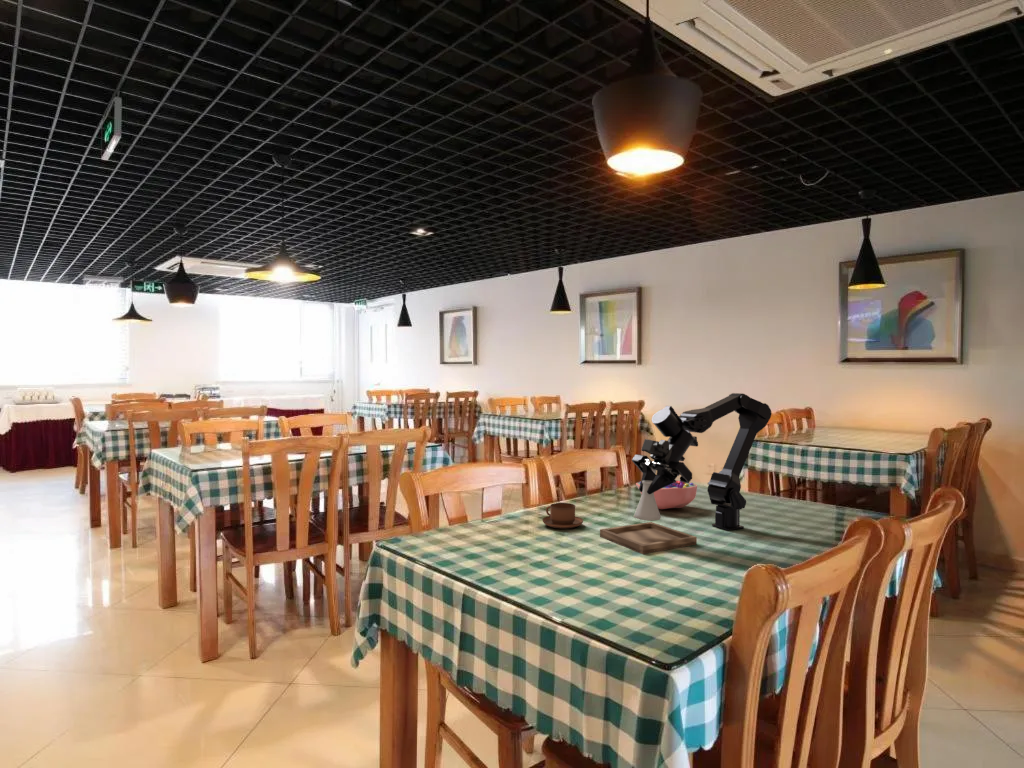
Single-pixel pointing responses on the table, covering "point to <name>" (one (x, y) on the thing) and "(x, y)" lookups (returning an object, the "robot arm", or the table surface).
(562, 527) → the cup and saucer
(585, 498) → the table surface
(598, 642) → the table surface
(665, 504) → the cell model
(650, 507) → the flask
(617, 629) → the table surface
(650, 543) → the walnut tray
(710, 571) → the table surface
